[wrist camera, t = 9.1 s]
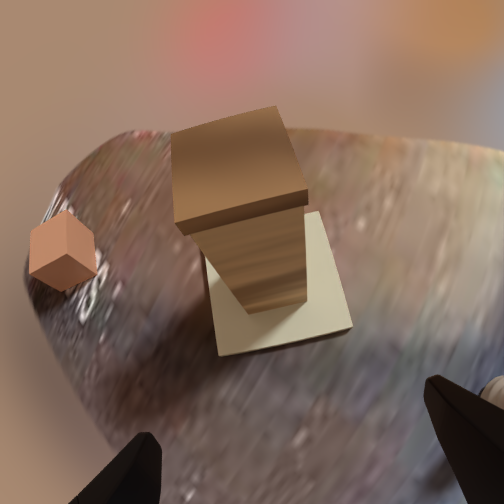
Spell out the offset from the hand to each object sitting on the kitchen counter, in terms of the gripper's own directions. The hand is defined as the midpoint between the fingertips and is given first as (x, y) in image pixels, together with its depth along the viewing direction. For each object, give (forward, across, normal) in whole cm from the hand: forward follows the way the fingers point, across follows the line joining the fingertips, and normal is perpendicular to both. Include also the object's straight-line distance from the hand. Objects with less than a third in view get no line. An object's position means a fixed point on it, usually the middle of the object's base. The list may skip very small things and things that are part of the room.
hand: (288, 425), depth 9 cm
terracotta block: (+21, +19, -2) cm, 29 cm away
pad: (+16, 0, +3) cm, 17 cm away
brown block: (+16, 0, +2) cm, 16 cm away
